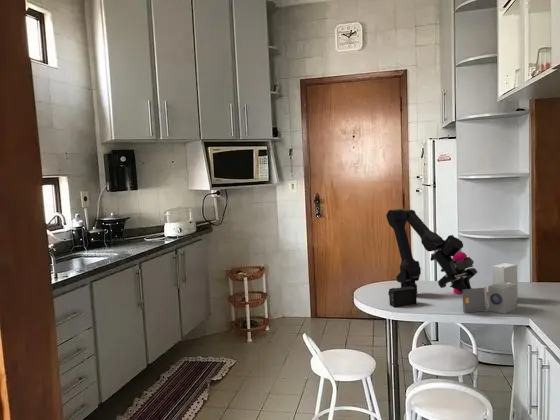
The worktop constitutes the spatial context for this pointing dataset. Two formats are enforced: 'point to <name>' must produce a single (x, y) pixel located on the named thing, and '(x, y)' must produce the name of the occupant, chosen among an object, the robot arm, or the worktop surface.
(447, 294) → the worktop surface
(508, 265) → the skincare box
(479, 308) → the side door
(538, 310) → the worktop surface
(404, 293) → the digital camera
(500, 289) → the camera housing
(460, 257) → the pepper mill
